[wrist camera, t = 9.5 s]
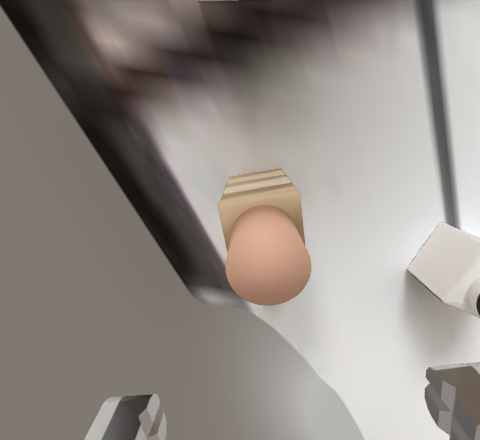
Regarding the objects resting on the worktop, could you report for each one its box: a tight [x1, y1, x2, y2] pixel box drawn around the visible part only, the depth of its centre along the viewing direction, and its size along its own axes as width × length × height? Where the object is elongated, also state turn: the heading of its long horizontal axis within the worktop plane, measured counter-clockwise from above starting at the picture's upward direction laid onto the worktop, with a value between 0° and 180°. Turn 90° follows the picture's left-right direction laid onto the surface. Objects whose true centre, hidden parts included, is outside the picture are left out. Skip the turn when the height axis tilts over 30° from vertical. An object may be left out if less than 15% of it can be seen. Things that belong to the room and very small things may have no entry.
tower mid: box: [223, 174, 292, 194], centre depth 26 cm, size 6×6×4 cm
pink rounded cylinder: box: [226, 205, 311, 305], centre depth 18 cm, size 5×5×5 cm
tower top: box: [218, 183, 305, 252], centre depth 22 cm, size 6×6×4 cm
